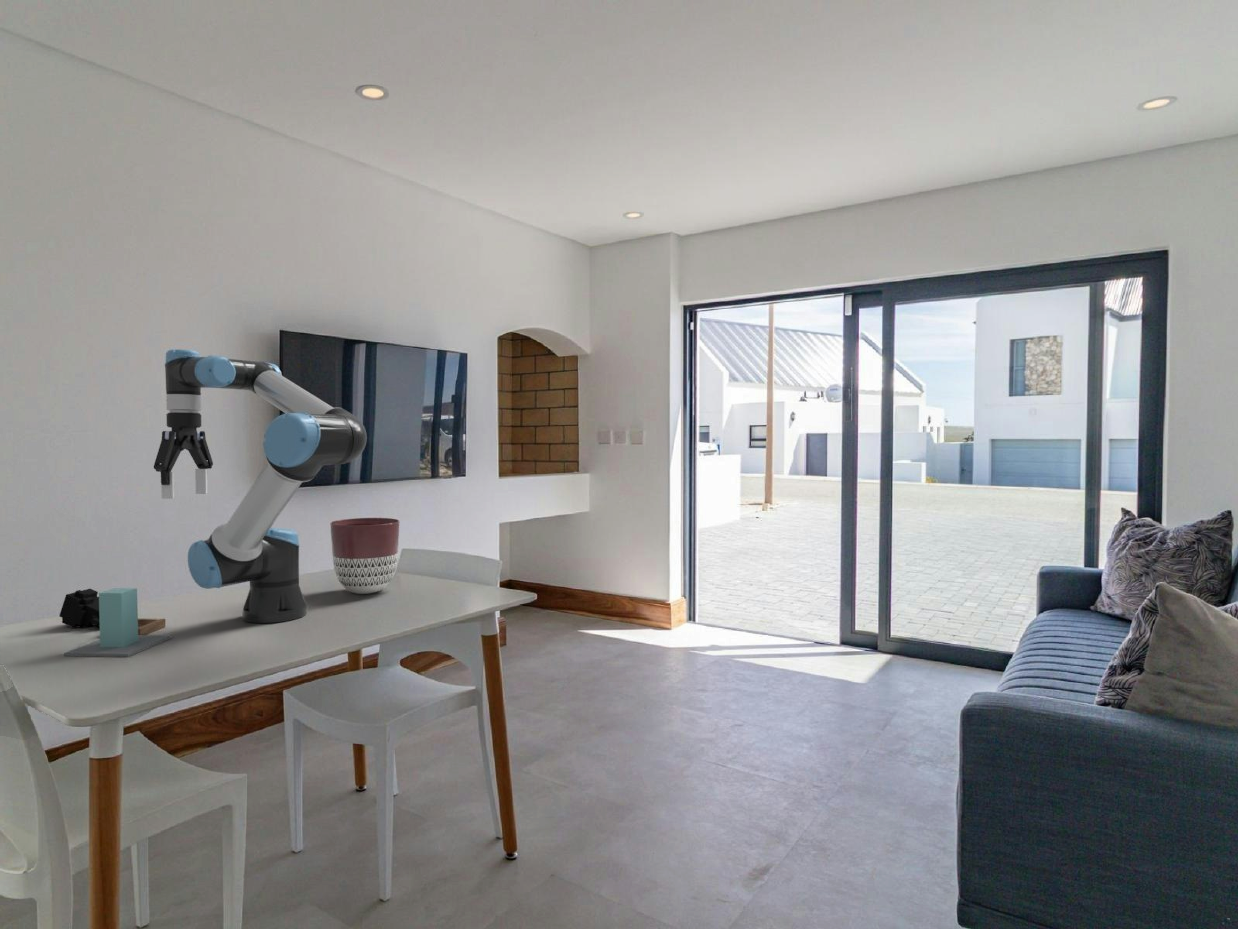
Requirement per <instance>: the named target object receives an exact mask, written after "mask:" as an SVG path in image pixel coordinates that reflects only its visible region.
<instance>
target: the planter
mask: <svg viewBox="0 0 1238 929" xmlns="http://www.w3.org/2000/svg"><path fill="white" fill-rule="evenodd" d="M330 537H331V540H330V541H331V555H332V566H333V571H334V575H335V577H336V580H337V582H338V583H339V584H340V585H341V586H342V587H343V588H344V589H345V590H347V591H349V592H350V593H354V594H357V595H368V594H375V593H377V592H379V591H382V590H383V589H384V588H385V587H387V586H388V585H389V583H391V581H392V580H393V578H394V576H395V574H396V570H397V565H398V556H399V538H400V520H399V519H395V518H390V517H389V518H388V517H360V518H359V517H358V518H357V517H356V518H346V519H345V518H344V519H338V520H334V521H331V522H330Z"/></svg>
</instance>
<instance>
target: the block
mask: <svg viewBox="0 0 1238 929" xmlns="http://www.w3.org/2000/svg"><path fill="white" fill-rule="evenodd" d="M98 597H99V619H100V626H99V639H100V647H125V646H127V645H130V644H132V643H134V642H137V641H138V618H139V617H138V616H139V613H138V588H137V587H135V588H133V587H132V588H131V587H130V588H129V587H127V588H126V587H125V588H124V587H117V588H116V587H115V588H112V589H108V590H104V591H102V592H101V591H100V592H98Z"/></svg>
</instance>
